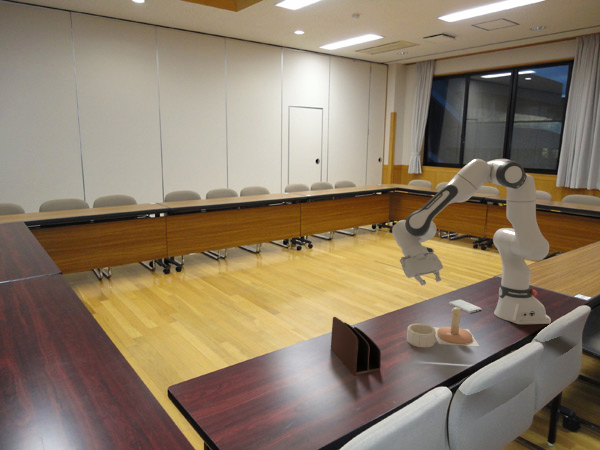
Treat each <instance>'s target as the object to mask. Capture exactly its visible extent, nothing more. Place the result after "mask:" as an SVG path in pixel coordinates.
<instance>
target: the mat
mask: <svg viewBox="0 0 600 450" xmlns="http://www.w3.org/2000/svg"><path fill="white" fill-rule="evenodd" d="M432 327H433V328H434V329H435V331H436V335H435V340H436V341H437V343H438V345H447V346H464V347H465V346H466V347H480V345H479V343H478V342H477V340H476V339H475V337H474V335H473V334H472V332H471V331H470V329H469V328H463V329H464V330H466V331H468V332H470V333H471V334H472V340H471V342H469V343H466V344H455V343H450V342H447V341H444V340H442V339H441V338H439V337H438V335H437V330H438V329H439V328H440V327H437V326H436V327H435V326H432Z"/></svg>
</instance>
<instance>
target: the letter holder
mask: <svg viewBox="0 0 600 450" xmlns="http://www.w3.org/2000/svg"><path fill="white" fill-rule="evenodd" d="M331 324H332V325H331V336H330V337H331V339H330V349H331V350H332V351H333V353H334V354H335V355H336V356H337V358H338V359H339V360H340V361H341V362H342V363H343V365H345V367H346V368H348V370H349V371H350V372H351V373H352V374H353V376H355V377H356V376H360V375H361V376H362V375H365V374H371V373H375V372H381V369H382V368H381V365H382V364H381V363H382V361H381V360H382V352H381V349H380V347H379V346H378V345H377V343H375V342H374V340H373V339H372V338H370V336H369V335H367V334H366V333H365V332H364V331H363V330H362V329H360V328H359V327H357V326H352V325H350V324H349V323H347V322H346V321H345V322H344V321H343V320H341V319H340V318H338V317H336V316H333V317H332V323H331Z"/></svg>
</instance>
